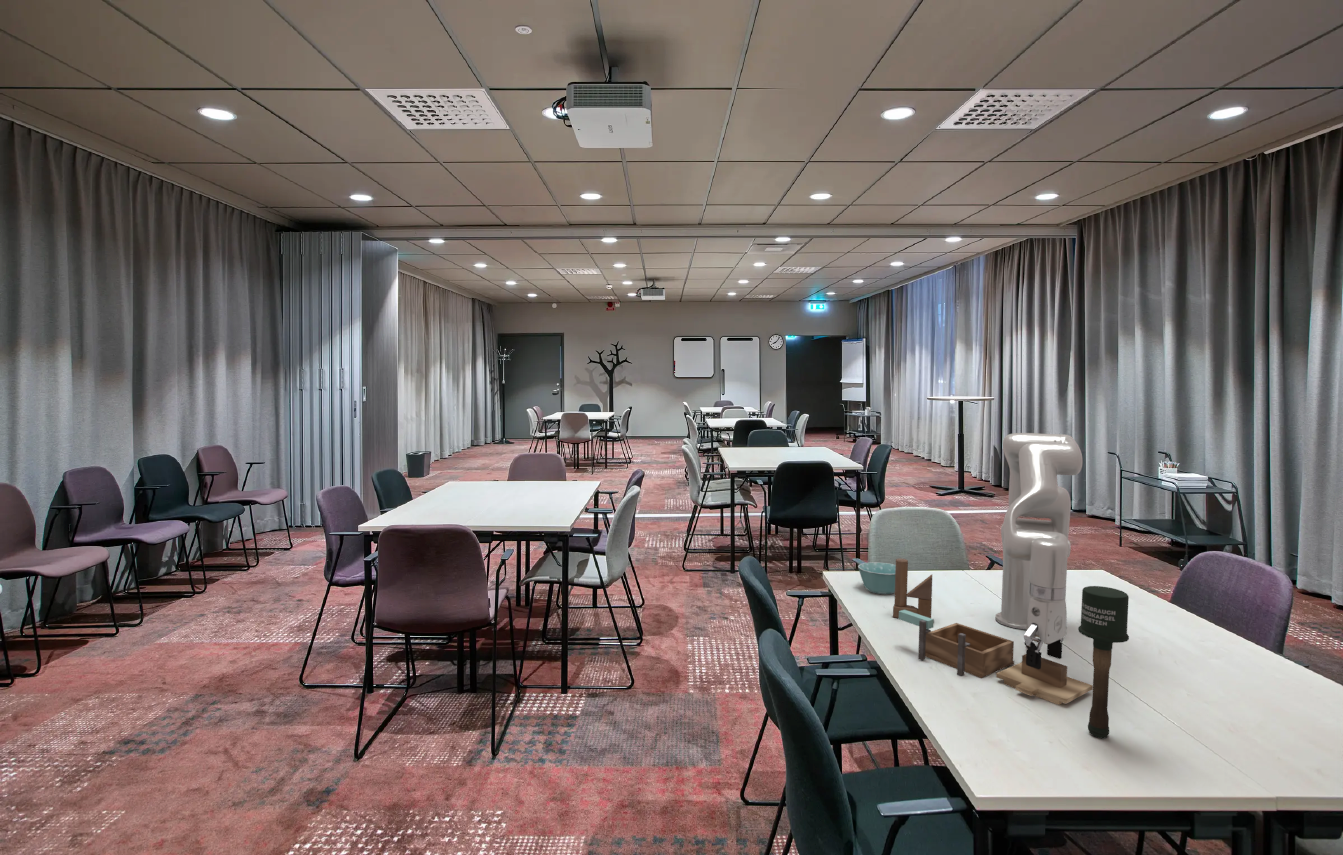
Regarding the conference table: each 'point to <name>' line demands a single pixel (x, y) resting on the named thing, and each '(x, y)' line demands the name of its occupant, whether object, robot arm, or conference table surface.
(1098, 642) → the stick grenade
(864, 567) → the bowl
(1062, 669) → the lid
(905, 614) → the teal rectangular bar
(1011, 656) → the wooden box
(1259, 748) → the conference table surface
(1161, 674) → the conference table surface
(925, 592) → the brown wooden block structure
